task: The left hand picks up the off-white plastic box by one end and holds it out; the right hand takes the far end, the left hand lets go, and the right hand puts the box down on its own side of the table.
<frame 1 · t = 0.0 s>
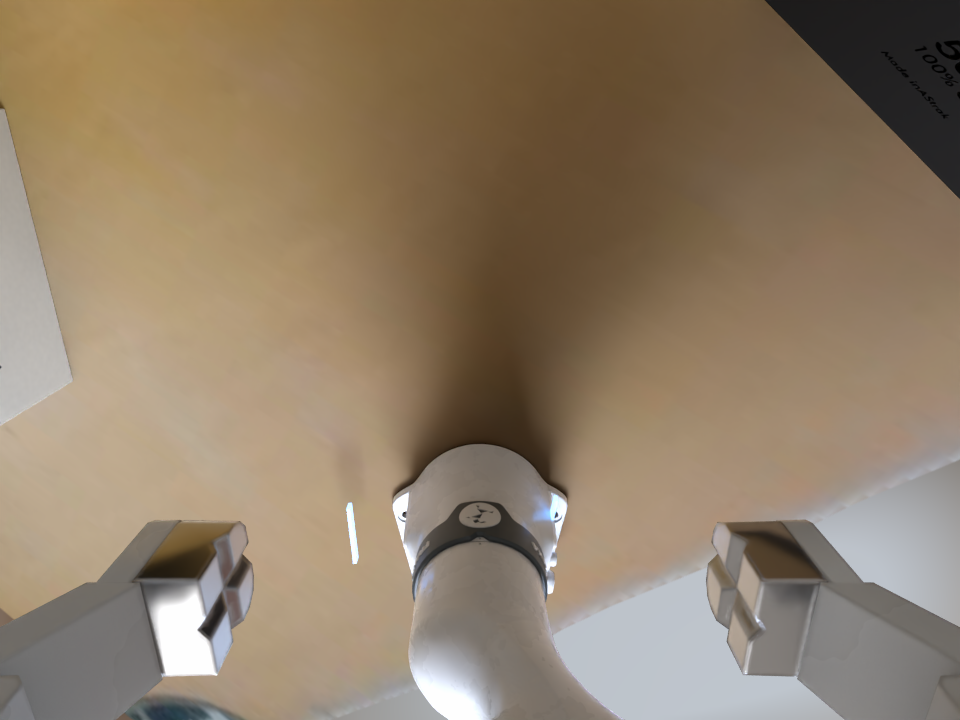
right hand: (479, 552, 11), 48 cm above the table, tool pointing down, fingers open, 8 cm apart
box: (10, 255, 57), on the table
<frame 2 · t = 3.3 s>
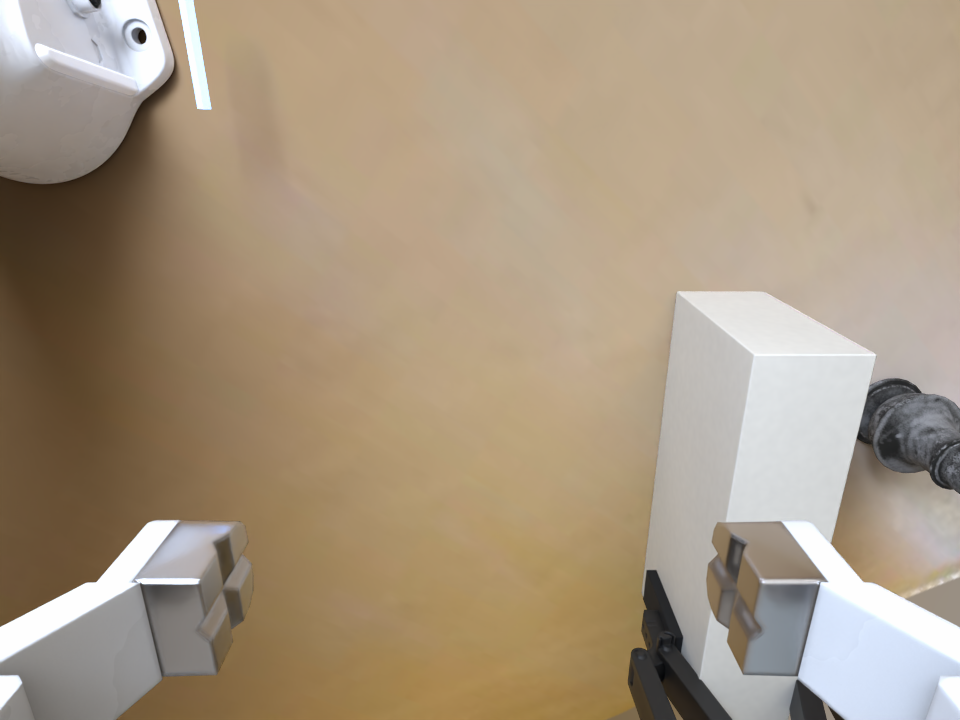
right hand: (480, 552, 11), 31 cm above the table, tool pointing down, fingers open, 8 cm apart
box: (697, 456, 46), on the table, touching left hand
dark grey chess piece: (883, 410, 44), on the table
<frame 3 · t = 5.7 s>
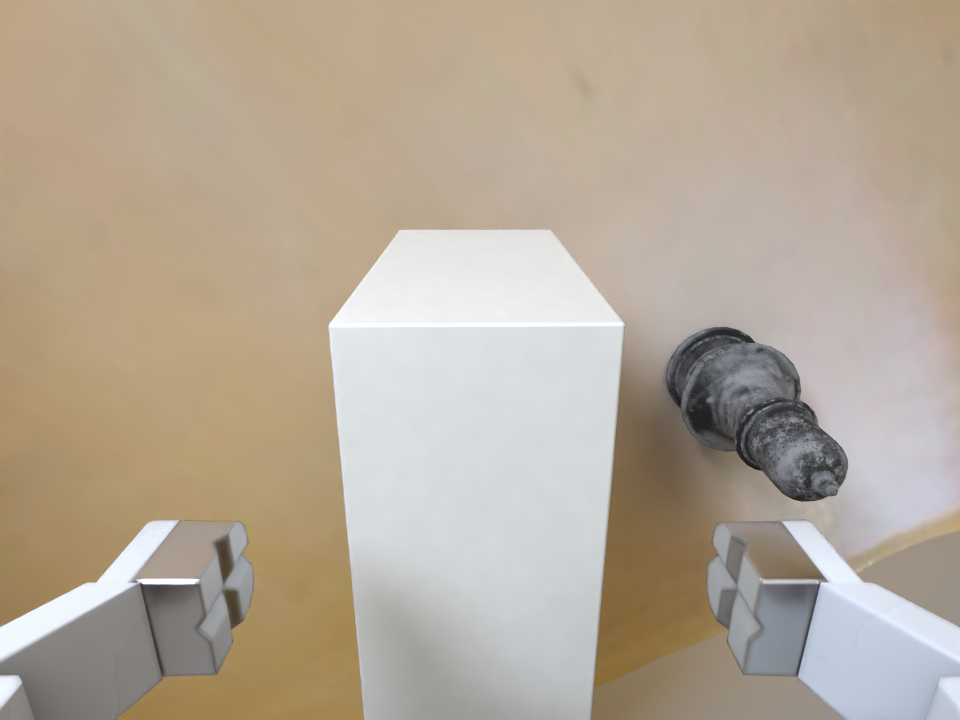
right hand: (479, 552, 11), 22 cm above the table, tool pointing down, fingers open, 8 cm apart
box: (476, 505, 28), point 7 cm above the table, touching left hand
dark grey chess piece: (713, 371, 34), on the table
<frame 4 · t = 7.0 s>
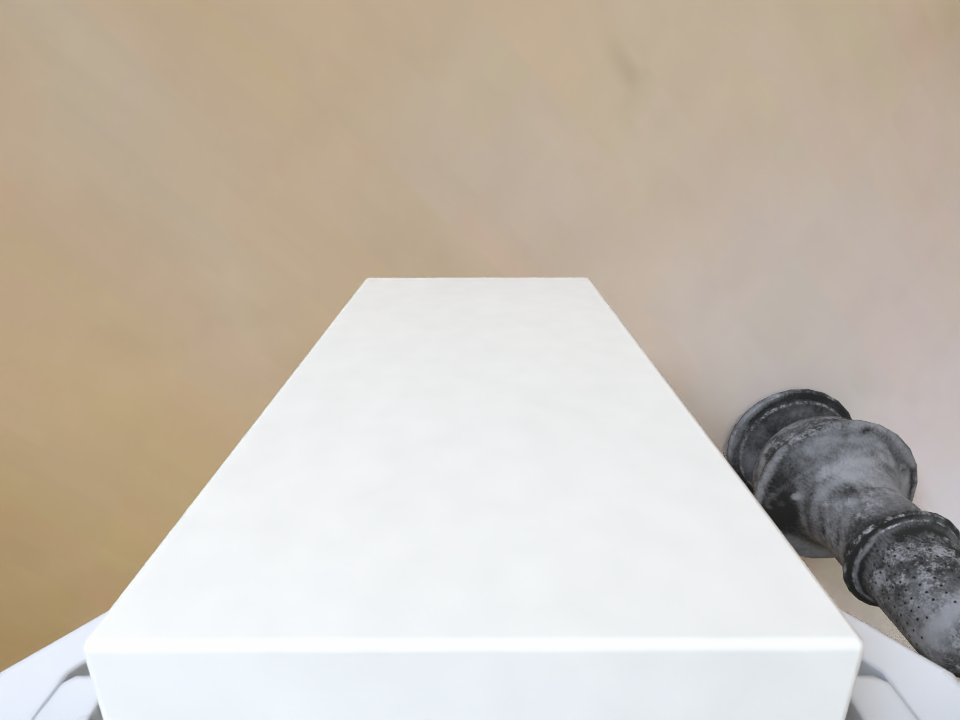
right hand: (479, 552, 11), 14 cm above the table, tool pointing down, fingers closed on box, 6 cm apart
box: (478, 644, 21), point 7 cm above the table, touching right hand, left hand
dark grey chess piece: (787, 444, 26), on the table
when the left hand's fingers open (10 cm above the table, at t = 8.1 s): box stays where it is, held by the right hand.
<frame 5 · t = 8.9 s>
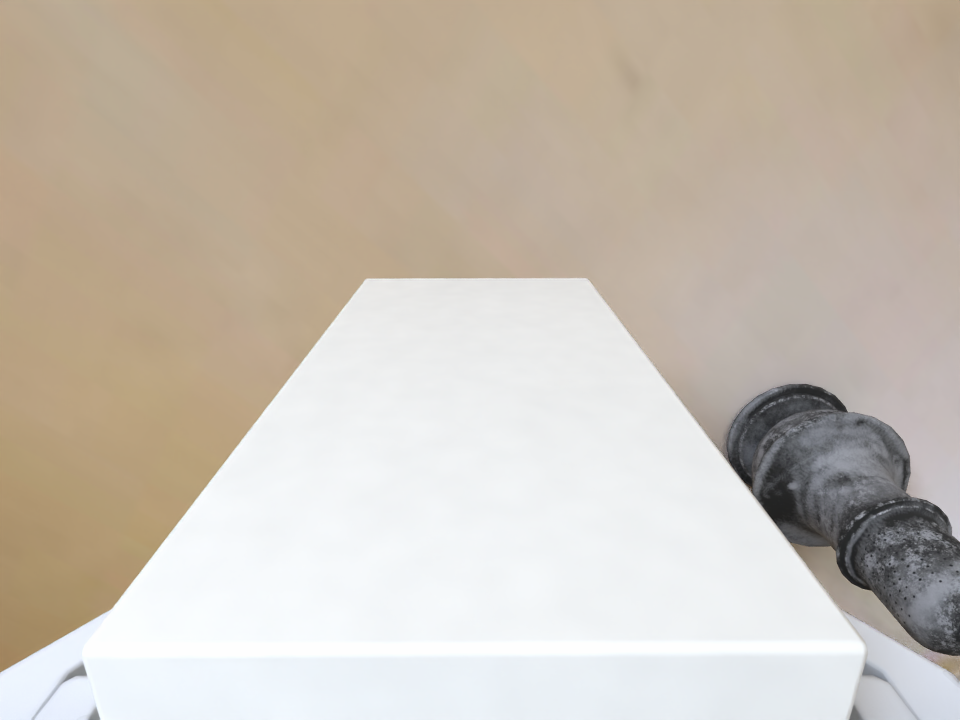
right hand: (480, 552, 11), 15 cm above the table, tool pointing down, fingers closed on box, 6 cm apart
box: (478, 645, 21), point 8 cm above the table, touching right hand
dark grey chess piece: (786, 437, 27), on the table
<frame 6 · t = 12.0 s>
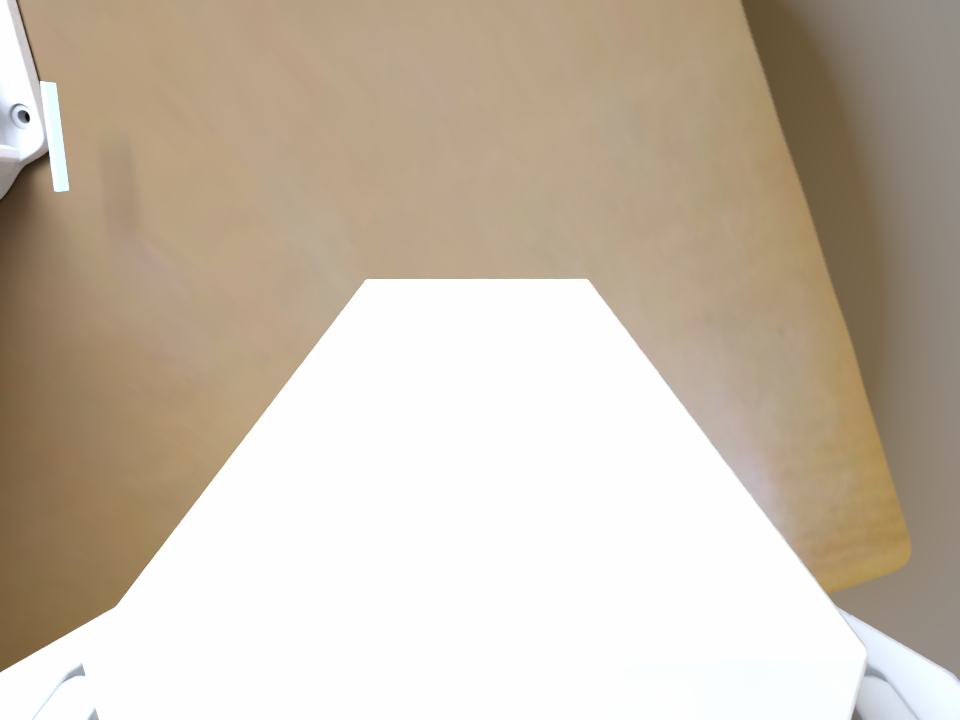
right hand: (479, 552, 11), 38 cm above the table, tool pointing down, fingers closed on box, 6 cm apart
box: (477, 646, 21), point 31 cm above the table, touching right hand
when the right hand's fingers open (8 cm above the table, at t = 17.1 s): box stays where it is, on the table.
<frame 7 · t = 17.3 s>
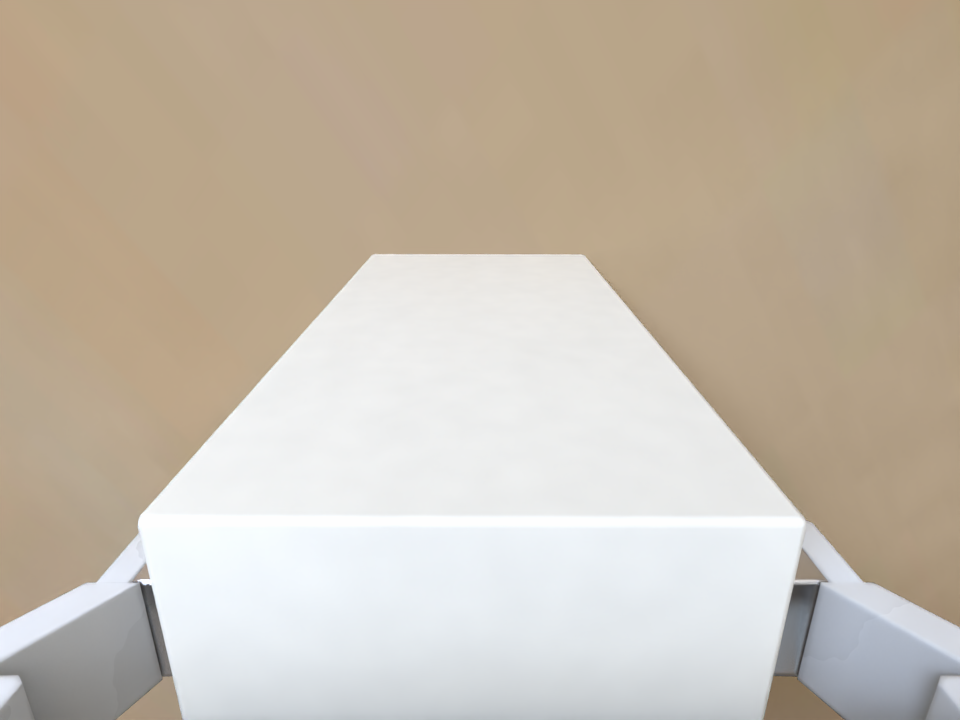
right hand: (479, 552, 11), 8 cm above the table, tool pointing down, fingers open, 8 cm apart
box: (478, 612, 22), on the table
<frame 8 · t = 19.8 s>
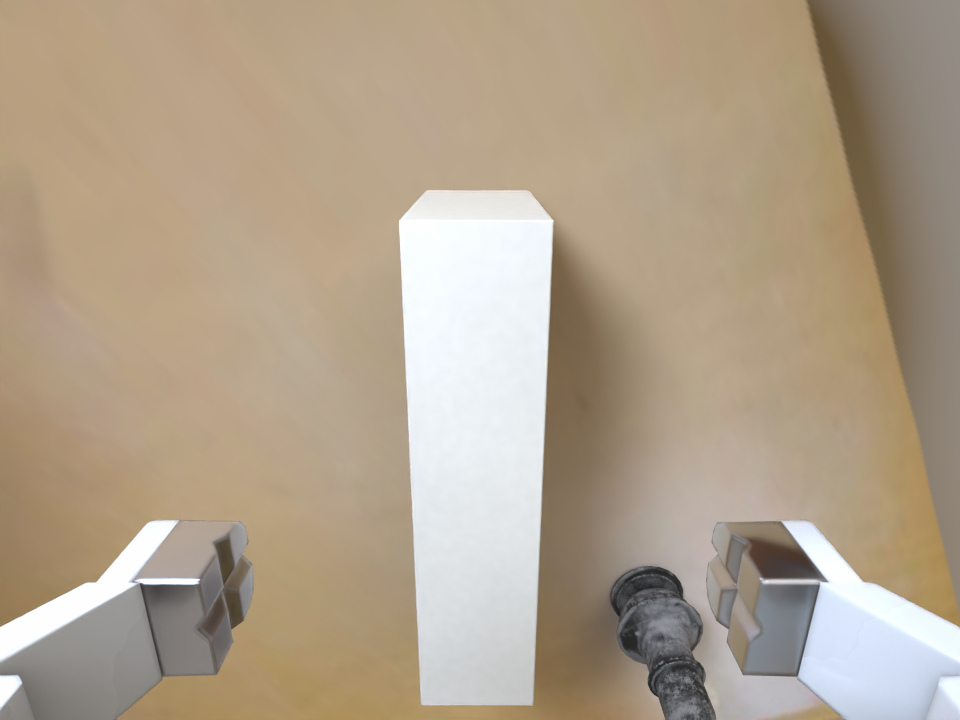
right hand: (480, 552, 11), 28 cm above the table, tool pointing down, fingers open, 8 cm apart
box: (477, 392, 40), on the table
dark grey chess piece: (645, 593, 45), on the table
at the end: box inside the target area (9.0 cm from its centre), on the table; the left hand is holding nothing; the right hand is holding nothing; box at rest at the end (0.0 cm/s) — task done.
